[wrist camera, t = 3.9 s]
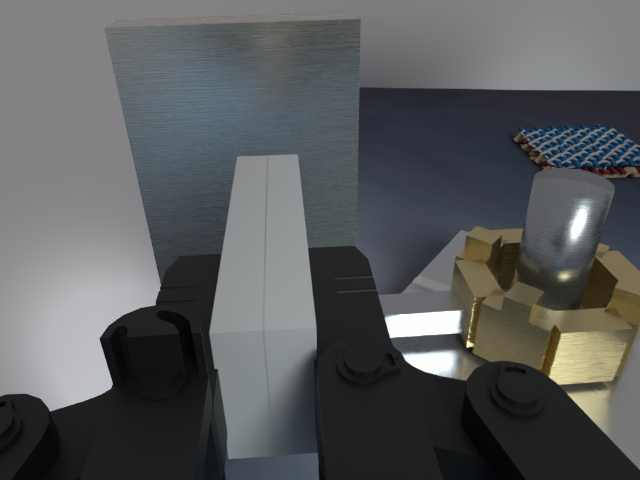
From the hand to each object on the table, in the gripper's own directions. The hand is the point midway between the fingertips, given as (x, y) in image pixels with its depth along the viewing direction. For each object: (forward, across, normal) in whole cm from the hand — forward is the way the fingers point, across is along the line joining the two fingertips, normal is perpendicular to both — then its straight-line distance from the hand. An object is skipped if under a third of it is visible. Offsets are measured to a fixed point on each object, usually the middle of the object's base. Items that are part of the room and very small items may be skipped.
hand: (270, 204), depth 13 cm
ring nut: (+8, +6, -11) cm, 15 cm away
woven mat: (+33, +29, -14) cm, 46 cm away
